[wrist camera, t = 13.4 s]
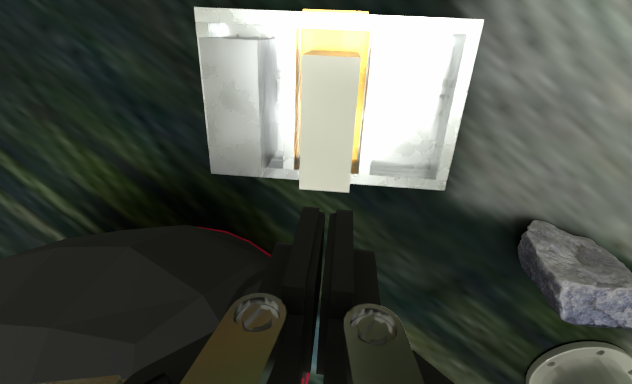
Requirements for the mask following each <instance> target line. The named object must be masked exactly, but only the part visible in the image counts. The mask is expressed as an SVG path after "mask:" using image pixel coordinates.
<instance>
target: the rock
mask: <svg viewBox="0 0 632 384" xmlns="http://www.w3.org/2000/svg"><path fill="white" fill-rule="evenodd" d="M527 228H528V231H526V232H525V233H523V235H522V236H521V240H520V243H519V245H518V257H519V260H520V263H521V266H522V270H523V271H524V272H525V273H526V274H527V275H528V276H530V277H531V278H532V280H533V282H534V283H535V284H536V285H537V287H538V289H539V290H540V291H541V294H543V296H544V298H545V299H546V301H547V302H548V304H549V305H550V307H551V308H552V309H553V310H554V311H555V312H556V313H557V314H558V316H559V317H560V318H561V319H562V320H564V321H565V322H568V323H571V324H576V325H583V326H591V327H604V328H625V329H632V273H631V272H630V270H629V269H627V268H626V267H625V265H624V264H623V263H621V262H620V261H618V260H617V258H616V257H615V256H613V255H612V254H611V253H609V252H608V251H606V250H605V249H604V248H602V247H600V246H598V245H596V243H595V242H594V241H593V240H591V239H590V238H586V237H582V236H573V235H571V234H569V233H567V232H565V231H563V230H560V229H558V228H556V227H555V226H554V225H552V224H550V223H547V222H545V221H538V220H534V221H532V222H531V224H530V226H528V227H527Z"/></svg>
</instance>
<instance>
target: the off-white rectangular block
mask: <svg viewBox="0 0 632 384" xmlns="http://www.w3.org/2000/svg"><path fill="white" fill-rule="evenodd" d="M360 64H361V56H360V55H359V53H358V52H349V51H327V50H310V51H308V52H306V53H304V54H302V55H301V111H300V170H299V189H305V190H320V191H334V192H348V193H349V188H350V176H351V165H352V154H353V143H354V132H355V120H356V109H357V98H358V87H359V76H360Z"/></svg>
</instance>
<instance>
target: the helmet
mask: <svg viewBox="0 0 632 384" xmlns="http://www.w3.org/2000/svg"><path fill="white" fill-rule="evenodd" d="M270 257H271V255H270V254H269V253H267V252H266V251H264V250H263V249H262V248H260V247H259V246H257V245H256V244H254V243H252V242H251V241H249V240H246V239H244V238H241V237H239V236H237V235H234V234H232V233H229V232H227V231H223V230H216V229H210V228H204V227H194V226H189V225H178V226H166V227H154V228H142V229H130V230H121V231H114V232H107V233H100V234H93V235H86V236H79V237H72V238H67V239H64V240H61V241H57V242H54V243H51V244H48V245H45V246H41V247H38V248H35V249H32V250H29V251H25V252H22V253H19V254H16V255H13V256H9V257H6V258H3V259H0V384H34V383H44V382H54V381H63V380H73V379H83V378H92V377H102V376H112V375H120V376H121V380H122V379H128V378H129V377H130V376H131V375H133V374H134V373H136V372H137V371H139V370H140V369H142V368H144V367H146V366H148V365H150V364H152V363H153V362H155V361H157V360H159V359H161V358H163V357H165V356H167V355H169V354H171V353H173V352H175V351H177V350H179V349H180V348H182V347H184V346H186V345H188V344H190V343H192V342H194V341H196V340H198V339H200V338H202V337H204V336H206V335H207V334H209V333H211V332H213V331H215V329H216V328H217V326H218V325H219V323H220V322H221V320H222V319H223V317H224V316H225V314H226V313H227V311H228V310H229V308H230V307H231V306H232V304H233V303H234V302H235V301H237V300H238V299H240V298H241V297H243V296H246V295H249V294H254V293H258V290H259V288H260V285H261V282H262V279H263V276H264V274H265V271H266V268H267V265H268V262H269V260H270ZM308 377H309V373H304V372H303V376H302V383H301V384H308Z"/></svg>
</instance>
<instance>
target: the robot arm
mask: <svg viewBox="0 0 632 384" xmlns="http://www.w3.org/2000/svg"><path fill="white" fill-rule="evenodd" d="M324 225H325V213H324V212H319V208H314V207H303V209H302V213H301V217H300V220H299V224H298V228H297V231H296V235H295V239H294V242H293V243H282V242H276V243H275V246H274V248H273V251H272V254H271V257H270V260H269V262H268V265H267V268H266V271H265V274H264V276H263V279H262V282H261V285H260V288H259V290H258V293H254V294H249V295H246V296H243V297H241V298H240V299H238V300H237V301H235V302H234V303H233V304H232V306H231V307H230V308H229V310H228V311H227V313H226V314H225V316H224V317H223V319H222V320H221V322H220V323H219V325H218V326H217V328H216V329H215V331H213V332H211V333H209V334H207V335H206V336H204V337H202V338H200V339H198V340H196V341H194V342H192V343H190V344H188V345H186V346H184V347H182V348H180V349H179V350H177V351H175V352H173V353H171V354H169V355H167V356H165V357H163V358H161V359H159V360H157V361H155V362H153V363H152V364H150V365H148V366H146V367H144V368H142V369H140V370H139V371H137V372H136V373H134V374H133V375H131V376H130V377H129V378H128V379H122V380H121V376H120V375H112V376H102V377H92V378H83V379H73V380H63V381H54V382H44V383H34V384H301V383H302V376H303V372H304V373H310V371H311V362H312V354H313V345H314V337H315V328H316V319H317V311H318V302H319V294H320V285H321V273H322V257H323V241H324ZM316 374H322V375H324V382H323V384H454V383H453V382H452V381H450V380H449V379H448V378H447V377H446V376H444V375H443V374H442V373H441V372H439V371H438V370H437V369H436V368H434V367H433V366H432V365H431V364H429V363H428V362H427V361H426V360H425V359H423V358H422V357H421V356H420V355H418V354H417V353H416V352H415V351H413V350H412V348H411V345H410V343H409V340H408V337H407V334H406V332H405V329H404V326H403V324H402V322H401V321H400V319H399V317H397V316H396V315H395V314H394V313H393V312H392V311H390V310H389V309H387V308H385V307H383V306H380V297H379V288H378V279H377V271H376V262H375V254H374V251H373V250H361V249H353V211H351V210H339V209H337V214H336V213H330V219H329V228H328V237H327V247H326V256H325V265H324V274H323V283H322V294H321V309H320V324H319V339H318V355H317V370H316ZM526 384H632V358H631V357H630V355H629V354H628V353H626V352H625V351H624V350H623V349H621V348H619V347H617V346H615V345H611V344H608V343H603V342H595V341H584V342H575V343H570V344H566V345H562V346H560V347H557V348H554V349H552V350H550V351H548V352H546V353H545V354H543V355H542V356H541V357H539V358H538V359H537V360H536V361H535V362H534V363H533V364H532V365H531V367H530V368H529V370H528V372H527V375H526Z"/></svg>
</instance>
